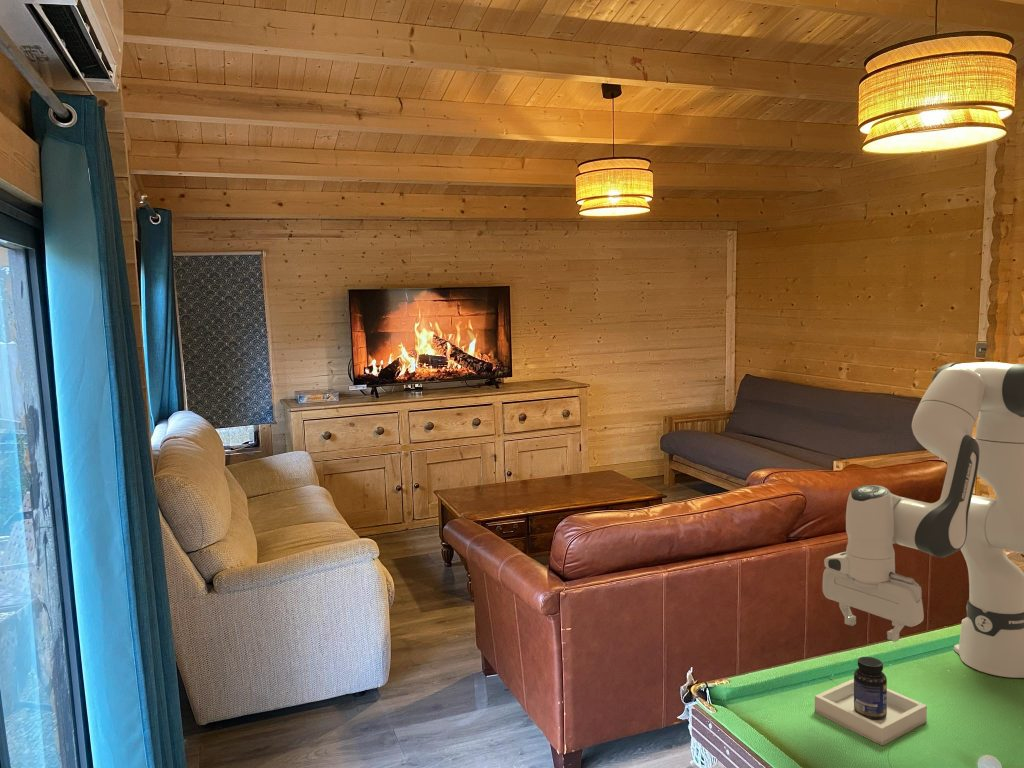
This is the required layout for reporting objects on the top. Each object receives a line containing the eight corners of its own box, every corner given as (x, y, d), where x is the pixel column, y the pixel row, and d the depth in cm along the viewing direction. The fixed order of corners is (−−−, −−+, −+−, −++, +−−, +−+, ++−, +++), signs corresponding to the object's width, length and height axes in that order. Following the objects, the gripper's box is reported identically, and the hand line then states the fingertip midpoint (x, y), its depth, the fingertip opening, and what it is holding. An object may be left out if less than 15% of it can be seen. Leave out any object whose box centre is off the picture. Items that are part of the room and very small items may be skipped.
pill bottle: (890, 722, 148) (890, 669, 147) (857, 719, 149) (858, 667, 148) (881, 706, 154) (882, 655, 153) (850, 704, 155) (850, 653, 154)
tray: (859, 691, 162) (859, 676, 161) (926, 722, 149) (926, 705, 149) (814, 711, 154) (814, 695, 154) (882, 745, 141) (882, 728, 141)
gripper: (930, 577, 141) (930, 645, 143) (836, 550, 159) (837, 612, 160) (911, 584, 138) (911, 655, 140) (817, 557, 156) (818, 619, 157)
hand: (871, 632), depth 150 cm, fingers open, 8 cm apart
